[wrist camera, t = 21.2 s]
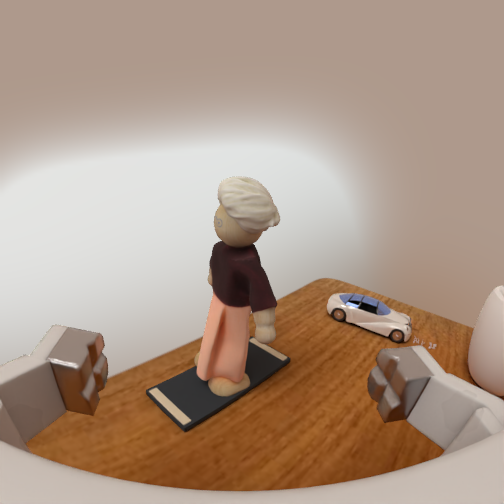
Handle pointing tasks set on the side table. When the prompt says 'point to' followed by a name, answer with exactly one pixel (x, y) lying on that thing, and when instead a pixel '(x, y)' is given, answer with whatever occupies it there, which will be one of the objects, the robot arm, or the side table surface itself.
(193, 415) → the black flat block
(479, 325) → the mug
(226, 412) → the side table surface
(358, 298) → the toy car
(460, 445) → the robot arm
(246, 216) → the grandmother figurine
